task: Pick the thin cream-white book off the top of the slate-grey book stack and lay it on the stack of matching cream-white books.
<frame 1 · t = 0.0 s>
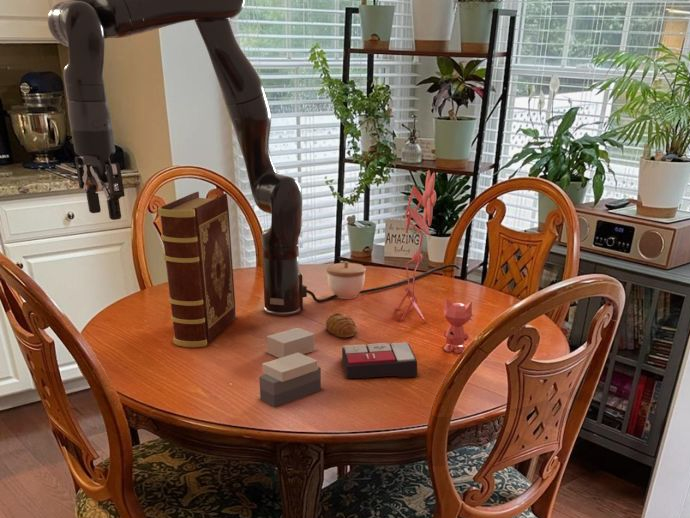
hand: (105, 215, 144), 29 cm above the table, tool pointing down, fingers open, 8 cm apart
cat figurine: (453, 351, 165), on the table
decorative book: (205, 332, 172), on the table
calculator: (378, 369, 155), on the table
figurine: (425, 316, 187), on the table
grey book stack: (291, 394, 142), on the table
white book stack: (291, 351, 162), on the table
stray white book: (290, 371, 140), point 5 cm above the table, touching grey book stack
trinket box: (345, 296, 200), on the table
pastry: (342, 332, 174), on the table
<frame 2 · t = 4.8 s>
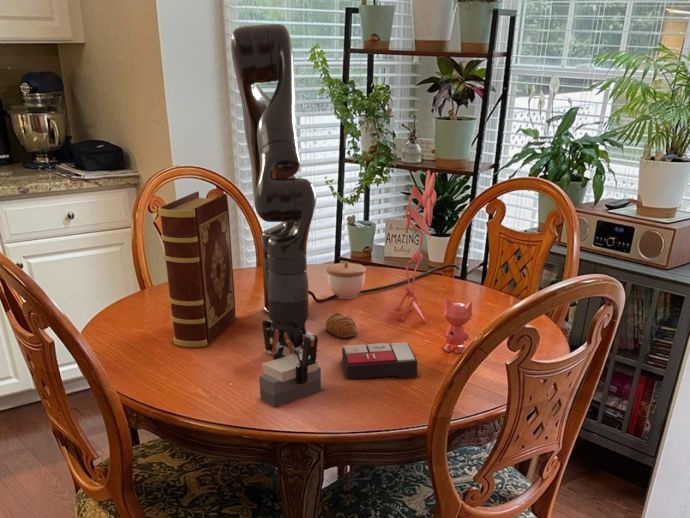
hand: (290, 378, 140), 4 cm above the table, tool pointing down, fingers closed on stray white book, 6 cm apart
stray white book: (290, 371, 140), point 5 cm above the table, touching grey book stack, gripper
everything else where it was.
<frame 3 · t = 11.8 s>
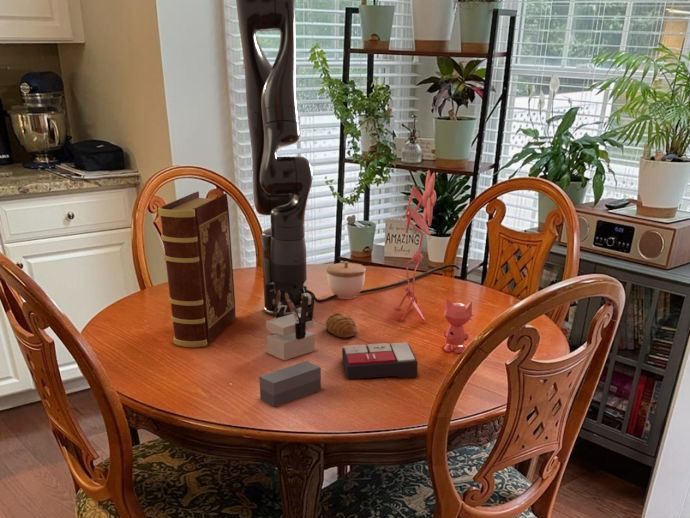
hand: (290, 334, 160), 4 cm above the table, tool pointing down, fingers closed on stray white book, 6 cm apart
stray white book: (290, 328, 159), point 6 cm above the table, touching gripper
everything else where it was.
when the fingers open (5 cm above the table, at t = 19.5 s): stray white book drops 2 cm, resting on white book stack.
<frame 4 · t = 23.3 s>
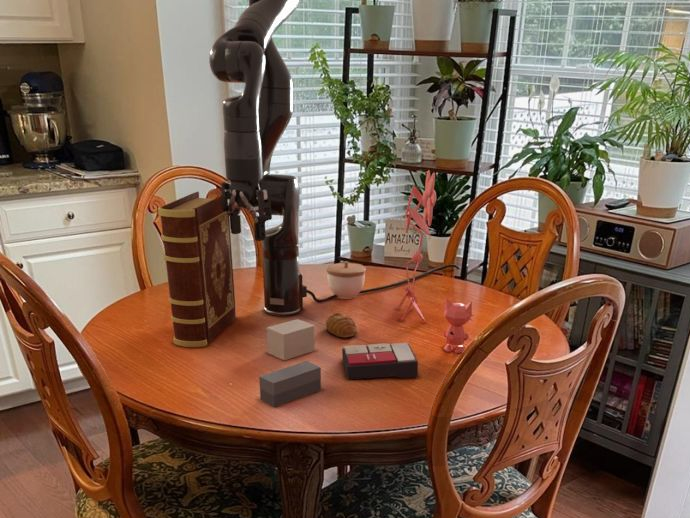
hand: (247, 236, 154), 24 cm above the table, tool pointing down, fingers open, 8 cm apart
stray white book: (290, 335, 160), point 4 cm above the table, touching white book stack
everything else where it was.
at the end: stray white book 0.0 cm off-centre on the white book stack, point 4.0 cm above the white book stack's base; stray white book tilted 0°; the gripper is holding nothing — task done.
